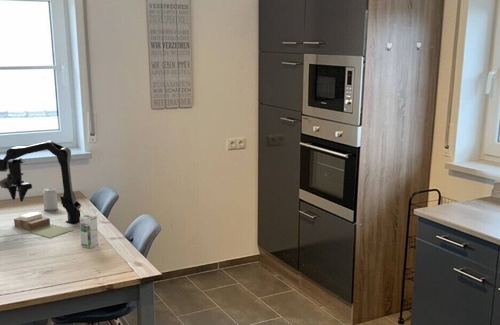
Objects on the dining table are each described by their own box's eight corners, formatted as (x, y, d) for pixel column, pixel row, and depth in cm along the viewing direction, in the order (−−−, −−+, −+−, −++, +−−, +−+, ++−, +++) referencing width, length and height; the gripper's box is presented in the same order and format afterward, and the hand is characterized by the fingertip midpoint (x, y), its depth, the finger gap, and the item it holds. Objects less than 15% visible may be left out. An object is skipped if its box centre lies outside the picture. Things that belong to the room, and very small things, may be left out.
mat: (72, 230, 272) (72, 229, 271) (49, 238, 260) (49, 237, 260) (52, 224, 280) (52, 224, 280) (28, 232, 268) (28, 231, 268)
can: (60, 207, 311) (58, 187, 309) (54, 211, 304) (52, 190, 302) (47, 207, 312) (46, 187, 310) (41, 210, 305) (40, 190, 302)
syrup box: (80, 246, 249) (78, 216, 246) (89, 242, 254) (88, 213, 252) (89, 248, 247) (88, 218, 244) (98, 244, 252) (97, 215, 249)
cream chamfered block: (41, 217, 280) (41, 213, 279) (26, 221, 272) (26, 217, 272) (34, 215, 283) (34, 211, 283) (19, 219, 276) (19, 215, 275)
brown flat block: (50, 225, 279) (49, 218, 278) (31, 231, 270) (30, 223, 269) (33, 221, 286) (32, 213, 285) (14, 226, 277) (14, 219, 276)
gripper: (-10, 171, 276) (-8, 201, 280) (12, 176, 267) (14, 206, 270) (9, 168, 286) (12, 196, 289) (31, 172, 276) (33, 201, 279)
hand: (17, 200), depth 281 cm, fingers open, 6 cm apart
